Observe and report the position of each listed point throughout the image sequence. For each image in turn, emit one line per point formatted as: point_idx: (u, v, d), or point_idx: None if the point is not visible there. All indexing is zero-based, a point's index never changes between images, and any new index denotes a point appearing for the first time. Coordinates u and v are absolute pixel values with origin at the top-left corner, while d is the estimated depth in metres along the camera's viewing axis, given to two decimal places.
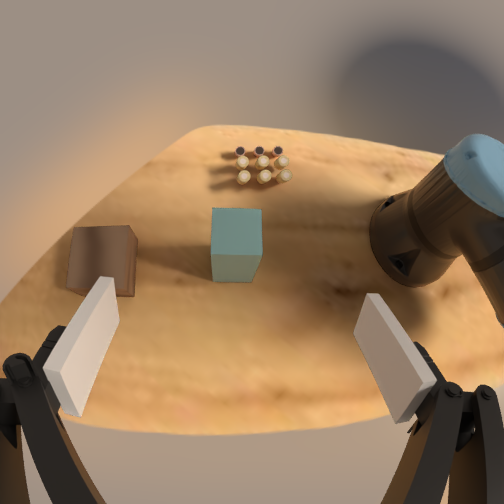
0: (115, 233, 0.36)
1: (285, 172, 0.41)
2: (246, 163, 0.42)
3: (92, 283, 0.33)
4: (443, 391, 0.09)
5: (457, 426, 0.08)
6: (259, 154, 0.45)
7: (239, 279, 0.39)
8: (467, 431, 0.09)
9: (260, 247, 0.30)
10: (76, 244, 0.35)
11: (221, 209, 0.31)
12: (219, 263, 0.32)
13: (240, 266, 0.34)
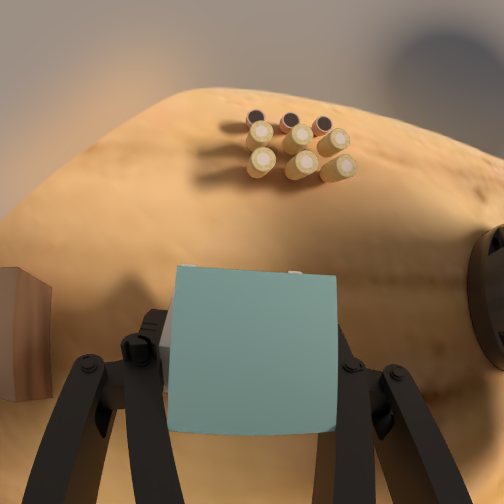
0: None
1: (346, 160, 0.20)
2: (268, 135, 0.20)
3: None
4: (340, 368, 0.10)
5: (367, 402, 0.09)
6: (290, 126, 0.24)
7: None
8: (385, 414, 0.10)
9: (331, 407, 0.08)
10: None
11: (206, 273, 0.09)
12: None
13: None
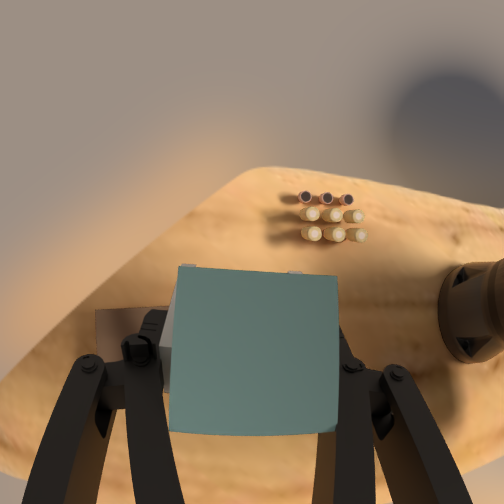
0: None
1: (361, 232, 0.34)
2: (316, 216, 0.35)
3: None
4: (340, 368, 0.10)
5: (367, 402, 0.09)
6: (327, 202, 0.38)
7: None
8: (385, 413, 0.10)
9: (332, 407, 0.08)
10: (103, 333, 0.27)
11: (208, 274, 0.09)
12: None
13: None
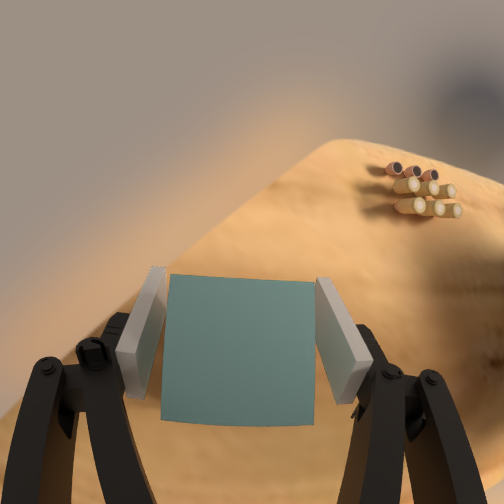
0: None
1: (457, 206, 0.28)
2: (417, 187, 0.28)
3: None
4: (380, 374, 0.10)
5: (403, 408, 0.09)
6: (416, 176, 0.32)
7: None
8: (417, 418, 0.10)
9: (308, 402, 0.09)
10: None
11: (196, 281, 0.10)
12: None
13: None
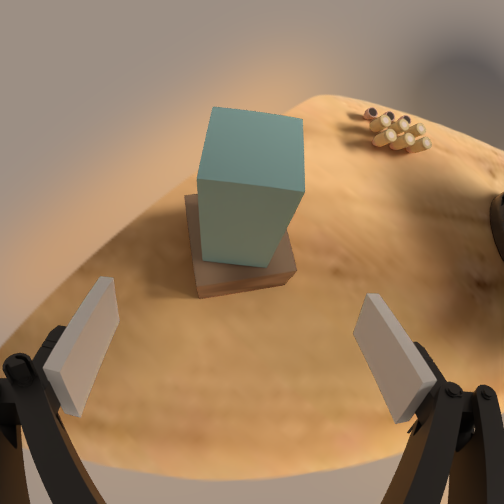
0: None
1: (426, 139, 0.33)
2: (389, 123, 0.33)
3: (244, 271, 0.24)
4: (443, 391, 0.09)
5: (457, 426, 0.08)
6: (390, 119, 0.37)
7: (247, 259, 0.23)
8: (467, 431, 0.09)
9: (300, 177, 0.14)
10: (197, 219, 0.25)
11: (229, 110, 0.15)
12: (215, 212, 0.17)
13: (254, 224, 0.18)
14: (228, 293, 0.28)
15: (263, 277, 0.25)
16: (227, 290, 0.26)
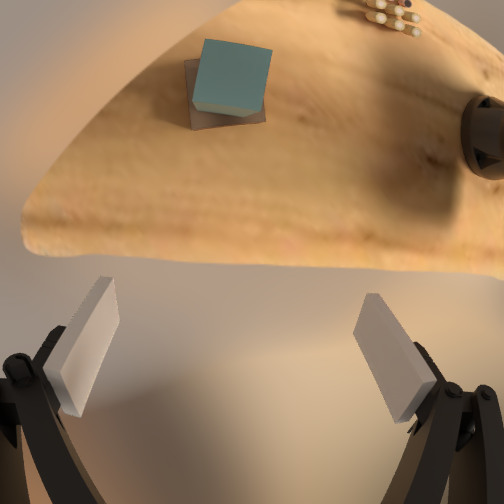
0: None
1: (417, 30, 0.28)
2: (383, 6, 0.27)
3: (226, 120, 0.31)
4: (443, 391, 0.09)
5: (457, 426, 0.08)
6: None
7: (229, 114, 0.29)
8: (467, 431, 0.09)
9: (260, 100, 0.20)
10: (193, 79, 0.29)
11: (217, 42, 0.18)
12: (204, 105, 0.23)
13: (231, 110, 0.24)
14: (215, 127, 0.35)
15: (240, 123, 0.31)
16: (214, 127, 0.34)
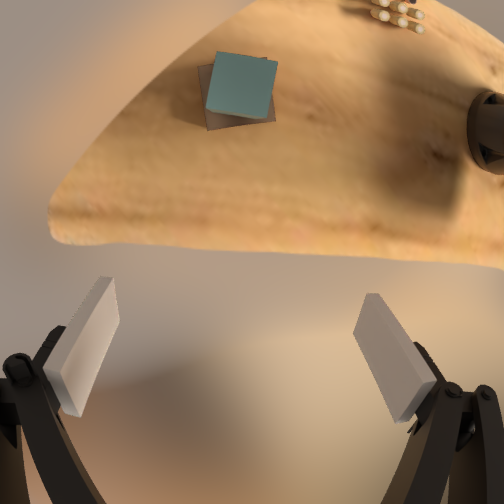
0: None
1: (420, 26, 0.28)
2: (387, 4, 0.27)
3: (239, 120, 0.33)
4: (443, 391, 0.09)
5: (457, 426, 0.08)
6: None
7: (241, 116, 0.32)
8: (467, 431, 0.09)
9: (266, 108, 0.23)
10: (207, 84, 0.31)
11: (227, 54, 0.21)
12: None
13: None
14: None
15: (252, 123, 0.34)
16: None
